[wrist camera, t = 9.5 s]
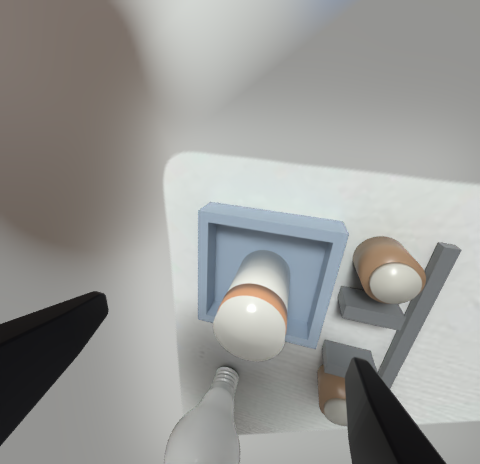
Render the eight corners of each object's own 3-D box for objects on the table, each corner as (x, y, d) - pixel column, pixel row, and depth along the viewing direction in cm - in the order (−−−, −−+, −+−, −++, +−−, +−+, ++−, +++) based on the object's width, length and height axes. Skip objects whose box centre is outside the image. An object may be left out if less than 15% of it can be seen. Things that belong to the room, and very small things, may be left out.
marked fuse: (295, 255, 19) (291, 314, 13) (286, 299, 21) (279, 370, 14) (241, 245, 20) (213, 295, 13) (237, 288, 22) (211, 350, 15)
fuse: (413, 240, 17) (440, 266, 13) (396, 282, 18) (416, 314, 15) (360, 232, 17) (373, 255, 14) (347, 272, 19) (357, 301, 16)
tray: (343, 221, 17) (348, 234, 15) (314, 327, 22) (315, 349, 19) (210, 202, 19) (198, 210, 17) (208, 301, 24) (198, 319, 21)
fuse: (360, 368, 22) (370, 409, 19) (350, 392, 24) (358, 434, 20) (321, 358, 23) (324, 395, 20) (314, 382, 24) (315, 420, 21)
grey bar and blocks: (454, 244, 16) (479, 262, 14) (376, 401, 23) (384, 430, 21) (358, 230, 17) (366, 244, 15) (311, 383, 24) (312, 408, 22)
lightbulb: (241, 345, 25) (200, 483, 15) (265, 387, 26) (242, 536, 17) (194, 353, 27) (132, 476, 17) (218, 391, 29) (174, 524, 19)
